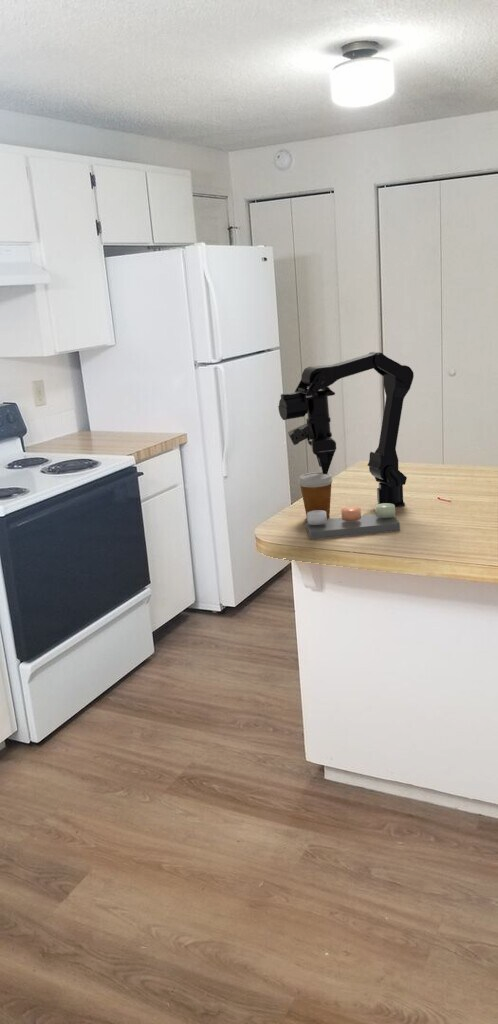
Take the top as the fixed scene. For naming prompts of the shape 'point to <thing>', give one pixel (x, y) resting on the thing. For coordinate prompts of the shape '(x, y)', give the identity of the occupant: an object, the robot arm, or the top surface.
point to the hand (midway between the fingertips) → (323, 470)
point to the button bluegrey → (316, 517)
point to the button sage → (385, 510)
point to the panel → (352, 527)
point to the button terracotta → (351, 513)
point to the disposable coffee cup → (316, 491)
